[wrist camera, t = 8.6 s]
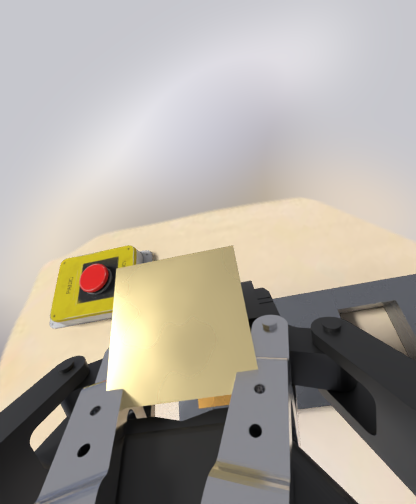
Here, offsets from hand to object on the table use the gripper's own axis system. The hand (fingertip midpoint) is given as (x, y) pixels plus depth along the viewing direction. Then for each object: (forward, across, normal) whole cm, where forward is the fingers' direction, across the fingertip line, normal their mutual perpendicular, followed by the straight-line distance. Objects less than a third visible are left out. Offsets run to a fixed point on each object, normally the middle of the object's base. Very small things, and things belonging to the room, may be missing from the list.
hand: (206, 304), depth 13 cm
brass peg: (+2, 0, +4) cm, 5 cm away
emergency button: (+18, +17, +5) cm, 25 cm away
